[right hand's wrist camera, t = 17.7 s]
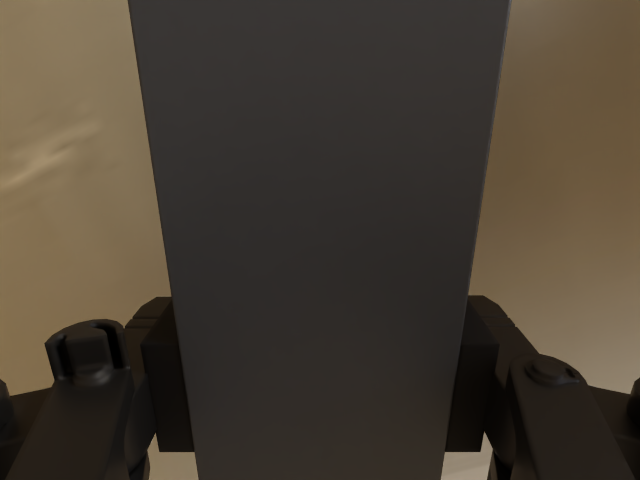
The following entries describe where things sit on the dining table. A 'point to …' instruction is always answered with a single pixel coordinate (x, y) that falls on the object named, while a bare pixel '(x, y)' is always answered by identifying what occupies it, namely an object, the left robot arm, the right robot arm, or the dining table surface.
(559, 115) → the dining table surface
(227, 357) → the beam
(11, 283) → the dining table surface
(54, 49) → the dining table surface
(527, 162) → the dining table surface
